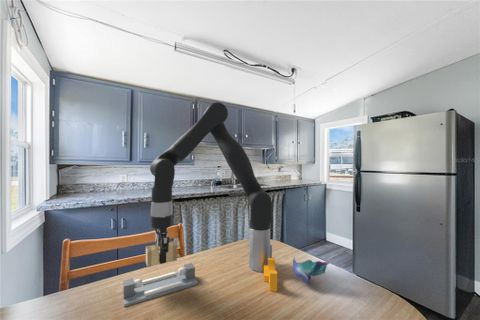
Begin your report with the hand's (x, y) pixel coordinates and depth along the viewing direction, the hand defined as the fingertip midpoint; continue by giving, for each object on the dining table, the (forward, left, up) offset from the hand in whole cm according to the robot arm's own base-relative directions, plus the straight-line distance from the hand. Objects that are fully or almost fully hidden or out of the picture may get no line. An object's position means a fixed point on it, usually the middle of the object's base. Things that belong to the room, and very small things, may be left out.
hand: (161, 259), depth 76 cm
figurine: (-49, +25, -10) cm, 56 cm away
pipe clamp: (-37, +18, -10) cm, 42 cm away
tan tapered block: (0, 0, -1) cm, 1 cm away
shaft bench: (0, 0, -10) cm, 10 cm away
